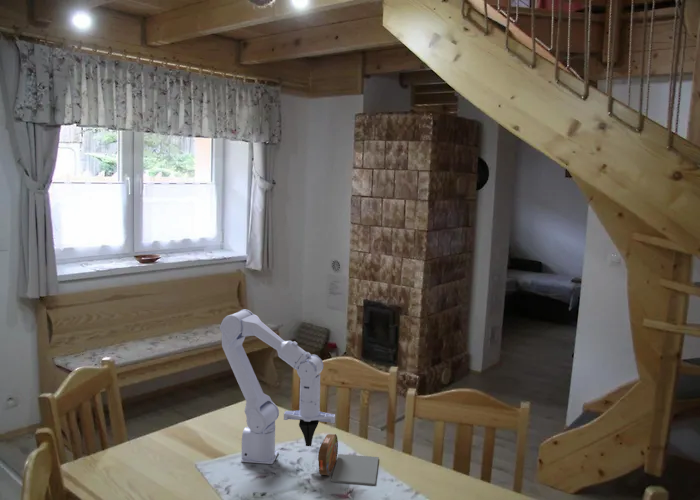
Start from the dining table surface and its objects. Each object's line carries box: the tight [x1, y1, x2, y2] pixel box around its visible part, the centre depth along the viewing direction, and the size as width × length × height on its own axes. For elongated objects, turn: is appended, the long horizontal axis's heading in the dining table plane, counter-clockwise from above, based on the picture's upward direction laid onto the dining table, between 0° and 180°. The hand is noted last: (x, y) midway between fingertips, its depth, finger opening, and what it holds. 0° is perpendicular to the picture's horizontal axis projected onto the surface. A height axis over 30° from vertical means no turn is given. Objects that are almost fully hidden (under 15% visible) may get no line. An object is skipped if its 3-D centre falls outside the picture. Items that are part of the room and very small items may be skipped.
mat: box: [330, 453, 380, 486], centre depth 171 cm, size 12×16×1 cm
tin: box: [317, 433, 339, 476], centre depth 171 cm, size 15×3×8 cm, turn 169°
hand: (308, 444), depth 171 cm, fingers closed
